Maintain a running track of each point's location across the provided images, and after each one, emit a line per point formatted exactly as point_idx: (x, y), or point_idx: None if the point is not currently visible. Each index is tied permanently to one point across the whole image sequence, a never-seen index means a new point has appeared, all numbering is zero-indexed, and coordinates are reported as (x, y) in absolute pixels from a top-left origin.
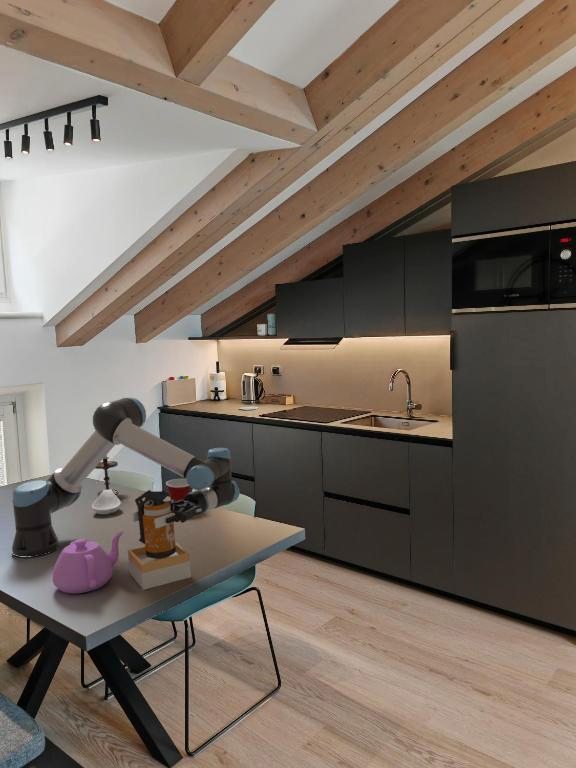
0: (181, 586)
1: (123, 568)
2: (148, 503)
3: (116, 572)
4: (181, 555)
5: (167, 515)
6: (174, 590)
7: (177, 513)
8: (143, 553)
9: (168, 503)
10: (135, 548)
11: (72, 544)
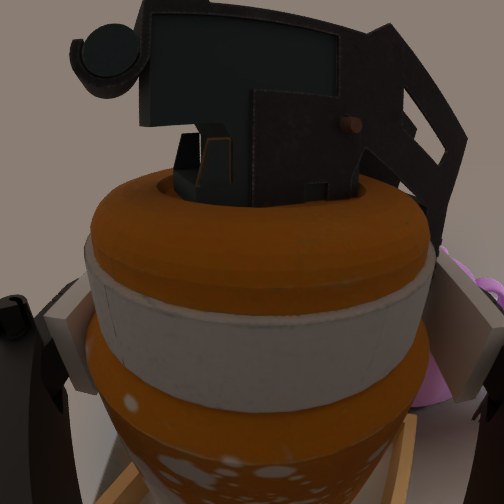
0: (113, 481)
1: (440, 470)
2: (359, 175)
3: (424, 443)
4: (105, 491)
5: (86, 274)
6: (119, 453)
7: (3, 319)
8: (387, 485)
9: (100, 220)
10: (410, 442)
11: (463, 267)
